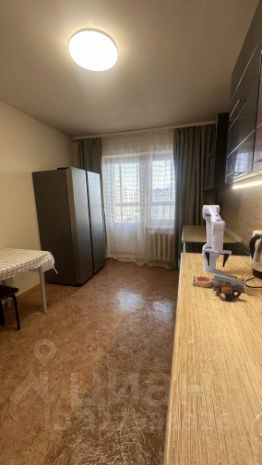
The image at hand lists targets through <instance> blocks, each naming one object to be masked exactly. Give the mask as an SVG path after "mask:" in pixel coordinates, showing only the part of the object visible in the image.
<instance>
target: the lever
mask: <svg viewBox="0 0 262 465" xmlns="http://www.w3.org/2000/svg"><path fill="white" fill-rule="evenodd" d="M212 276H213V278H212V279H218V280H222V281H226V282H230V283H234V284H237V285H238V287H239V288H244V289H245V286H246V284H247V280H246V278H245V277H244V276H243V278H244V279H243V281H239V280H237V276H238V275H237V276H236V275H232V274H227V273H224V272H220V271H219V269H218V268H216V269H214V268H213V272H212Z"/></svg>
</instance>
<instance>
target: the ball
mask: <svg viewBox="0 0 262 465" xmlns="http://www.w3.org/2000/svg"><path fill="white" fill-rule="evenodd" d="M243 277H244V276H243V275H240V274H239V275H237V280H239V281H243V279H244V278H245V277H244V278H243Z"/></svg>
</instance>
